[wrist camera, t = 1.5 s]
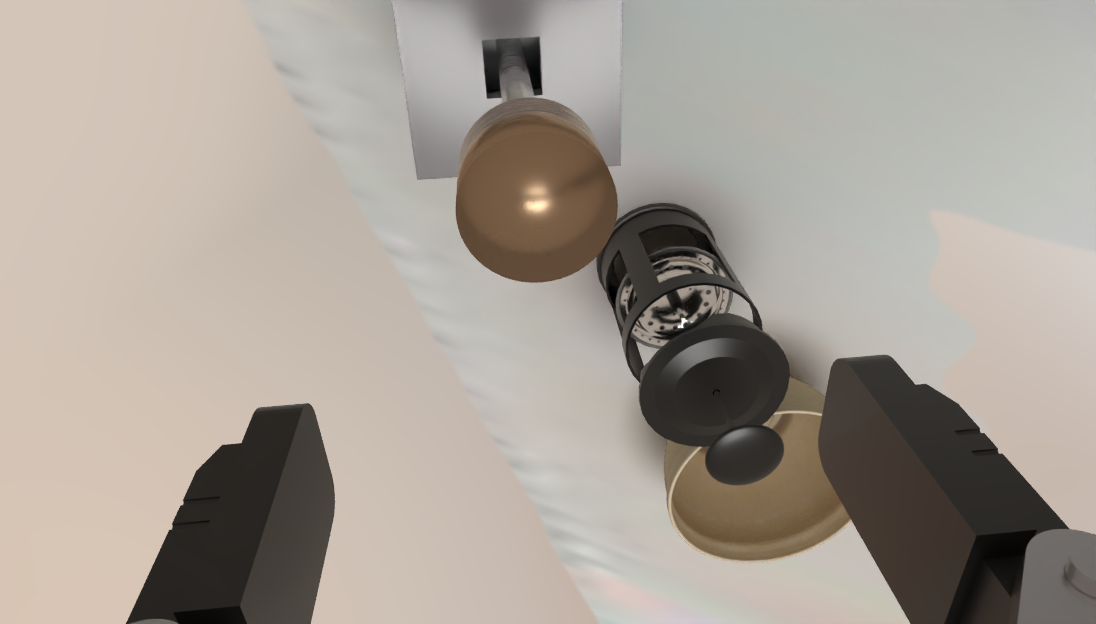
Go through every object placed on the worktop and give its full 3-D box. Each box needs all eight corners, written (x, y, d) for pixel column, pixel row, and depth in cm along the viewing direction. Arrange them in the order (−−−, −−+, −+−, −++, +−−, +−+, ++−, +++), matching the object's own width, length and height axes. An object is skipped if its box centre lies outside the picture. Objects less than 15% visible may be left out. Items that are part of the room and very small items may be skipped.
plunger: (560, -40, 38) (661, 80, 17) (564, 81, 41) (653, 306, 20) (441, -33, 37) (396, 97, 17) (454, 88, 40) (430, 323, 20)
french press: (566, 252, 57) (612, 456, 37) (661, 172, 54) (765, 346, 35) (658, 342, 62) (741, 563, 43) (750, 272, 59) (884, 475, 40)
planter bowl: (667, 320, 61) (701, 402, 52) (847, 339, 64) (910, 421, 54) (624, 466, 69) (647, 559, 60) (785, 478, 72) (831, 569, 62)
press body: (570, -88, 45) (622, -61, 29) (574, 67, 50) (620, 165, 34) (418, -80, 45) (385, -47, 28) (437, 76, 49) (417, 179, 33)
